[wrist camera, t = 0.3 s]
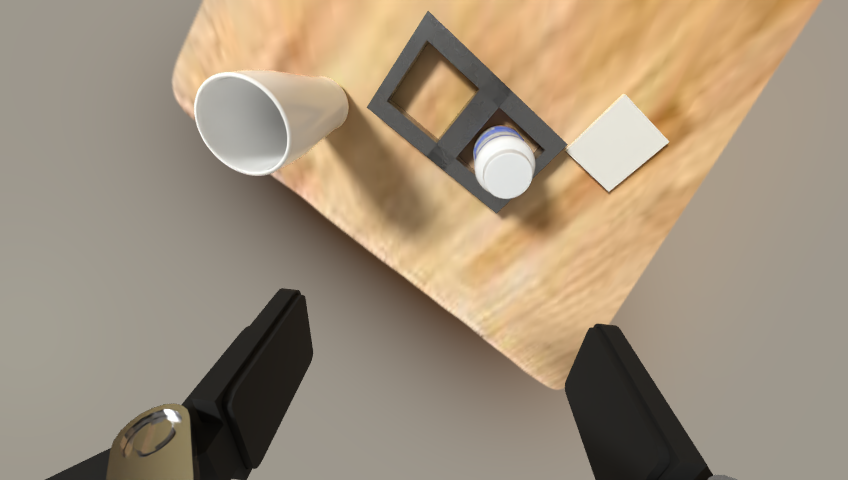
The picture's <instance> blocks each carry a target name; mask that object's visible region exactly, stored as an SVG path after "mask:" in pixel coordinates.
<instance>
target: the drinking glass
mask: <svg viewBox="0 0 848 480" xmlns="http://www.w3.org/2000/svg"><path fill="white" fill-rule="evenodd" d="M348 110H349V105H348V99H347V96H346V94H345V92H344V90H343V89H342V88H341V86H340V85H339V84H338V83H337V82H335V81H334V80H332V79H330V78H328V77H324V76H307V75H300V74H293V73H286V72H280V71H272V70H240V71H231V72H222V73H218V74H215V75H213V76H211V77H209V78H208V79H207V80H206V81H205V82H204V83H203V84H202V85H201V86H200V88H199V90H198V92H197V95H196V98H195V104H194V113H195V120H196V124H197V127H198V130H199V132H200V135H201V137H202V139H203V140H204V142H205V144H206V145H207V146H208V148H209V149H210V150H211V152H212V153H213V154H214V155H215V156H216V157H217V158H218V159H219V160H220V161H222V162H223V163H224V164H226V165H227V166H229V167H230V168H232V169H234V170H236V171H238V172H240V173H244V174H248V175H253V176H263V175H268V174H271V173H273V172H275V171H277V170H280V169H282V168H284V167H286V166H288V165H290V164H291V163H293V162H295V161H297V160H298V159H300V158H301V157H303V156H304V155H305V154H307V153H308V152H309V151H310V150H311V149H313V148H314V147H315V146H316V145H317V144H318V143H319V142H321V141H322V140H323V139H324V138H325V137H326V136H328V135H329V134H330V133H331V132H332V131H333V130H335V129H337V128H339V127H340V126H341V125H342V124H343V123H344V122H345V120H346V118H347V115H348Z"/></svg>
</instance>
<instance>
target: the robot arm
mask: <svg viewBox="0 0 848 480" xmlns="http://www.w3.org/2000/svg"><path fill="white" fill-rule="evenodd" d="M312 357H313V348H312V341H311V334H310V327H309V320H308V313H307V306H306V299H305V296H304V295H301V293H300V291H299V290H291V289H283V288H282V289H280V290H279V291H278V292H277V293H276V294H275V295H274V297H273V298H272V299H271V300H270V301H269V303H268V304H267V305H266V306H265V308H264V309H263V310H262V311H261V313H260V314H259V315H258V316H257V318H256V319H255V320H254V321H253V323H252V324H251V325H250V326H248V327H246V328H245V329H244V330H243V331H242V332H241V333H240V334H239V335H238V337H237V338H236V339H235V340H234V342H233V343H232V344H231V345H230V346H229V348H228V349H227V350H226V351H225V352H224V354H223V355H222V356H221V357H220V359H219V360H218V361H217V362H216V363H215V365H214V366H213V367H212V368H211V369H210V371H209V372H208V373H207V374H206V376H205V377H204V378H203V379H202V380H201V382H200V383H199V384H198V385H197V387H196V388H195V389H194V390H193V391H192V393H191V394H190V395H189V396H188V397H187V399H186V400H185V401H184V402H183V404H182V405H179V404H163V405H160V406H157V407H154V408H151V409H149V410H147V411H145V412H143V413H141V414H140V415H138V416H137V417H136V418H134V419H133V420H131V421H130V422H129V423H128V424H127V425H126V426H125V427H124V428H123V429H122V430H121V431H120V432H119V434H118V436H117V437H116V438H115V439H114V441H113V444H112V447H111V448H110V449H108V450H106V451H104V452H101V453H99V454H97V455H95V456H93V457H91V458H89V459H87V460H85V461H83V462H81V463H79V464H77V465H75V466H73V467H70V468H68V469H66V470H64V471H62V472H60V473H58V474H56V475H54V476H52V477H50V478H48V479H46V480H231V479H238V480H247V478H248V476H249V474H250V472H251V470H252V468H253V469H255V468H257V467H258V466H259V465H260V463H261V462H262V460H263V458H264V456H265V454H266V451H267V450H268V447H269V445H270V444H271V441H272V440H273V437H274V435H275V434H276V432H277V429H278V427H279V425H280V423H281V421H282V419H283V417H284V415H285V413H286V411H287V409H288V407H289V405H290V403H291V401H292V399H293V397H294V395H295V393H296V391H297V389H298V387H299V385H300V383H301V381H302V379H303V377H304V375H305V373H306V371H307V369H308V367H309V365H310V363H311V361H312ZM565 392H566V395H567V398H568V401H569V404H570V407H571V410H572V413H573V416H574V418H575V421H576V424H577V427H578V430H579V433H580V436H581V439H582V442H583V444H584V448H585V450H586V453H587V456H588V459H589V462H590V465H591V467H592V471H593V474H594V476H595V479H596V480H737V479H735V478H732V477H728V476H725V475H714V476H713V474H712V473H711V471H710V470H709V468H708V466H707V464H706V463H705V461H704V459H703V458H702V456H701V455H700V453H699V452H698V450H697V449H696V447H695V446H694V444H693V442H692V441H691V439H690V438H689V436H688V434H687V433H686V431H685V430H684V428H683V427H682V425H681V423H680V422H679V420H678V419H677V417H676V416H675V414H674V413H673V411H672V409H671V408H670V406H669V405H668V403H667V402H666V400H665V399H664V397H663V395H662V394H661V392H660V391H659V389H658V388H657V386H656V384H655V383H654V381H653V380H652V378H651V377H650V375H649V374H648V372H647V371H646V369H645V367H644V366H643V364H642V363H641V361H640V359H639V358H638V356H637V355H636V353H635V352H634V350H633V349H632V347H631V345H630V344H629V343H628V341H627V339H626V338H625V336H624V335H623V333H622V331H621V330H620V329H619V327H617V326H614V325H606V324H596V325H594V327H593V328H589V329H588V331H587V333H586V336H585V338H584V340H583V343H582V345H581V347H580V350H579V352H578V354H577V357H576V359H575V361H574V364H573V366H572V368H571V370H570V373H569V375H568V377H567V380H566V383H565Z"/></svg>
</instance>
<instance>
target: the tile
mask: <svg viewBox="0 0 848 480" xmlns="http://www.w3.org/2000/svg"><path fill="white" fill-rule="evenodd" d="M667 143H669V141H668V140H667V139H666V138H665V137H664V136H663V135H662V133H661V132H660V131H659V130H658V129H657V128H656V127H655V126H654V125H653V124H652V123H651V122H650V120H649V119H648V118H647V117H646V116H645V115H644V114H643V113H642V112H641V111H640V110H639V109H638V108H637V106H636V105H635V104H634V103H633V102H632V101H631V100H630V99H629V98H628V97H627V96H626V95H625V94H622V95H621V96H620V97H619V98H618V99H617V100H616V101H615V102H614V103H613V104H612V105H611V106H610V107H609V108H608V109H607V110H606V111H605V112H604V113H603V114H601V115H600V116H599V117H598V118H597V119H596V120H595V121H594V122H593V123H592V124H591V125H590V126H589V127H588V128H587V129H586V130H585V131H584V132H583V133H582V134H581V135H580V136H579V137H578V138H577V139H576V140H575V141H573V142H572V143H571V144H570V145H569V146H568V147H567V148H566V149H565V151H566V152H567V153H568V154H569V155H570V156H571V157H572V158H573V159H575V160H576V161H577V162H578V163H579V164H580V165H581V166H582V167H583V168H584V169H585V170H586V171H587V172H588V173H589V174H590V175H591V176H592V177H593V178H595V179H596V180H597V181H598V182H599V183H600V184H601V185H602V186H603V187H604V188H605V189H606V190H607V191H608V192H609V191H611V190H612V189H613V188H614V187H615V186H617V185H618V184H619V183H620V182H621V181H623V180H624V179H625V178H626V177H627V176H629V175H630V174H631V173H632V172H634V171H635V170H636V169H637V168H638V167H640V166H641V165H642V164H643V163H644V162H646V161H647V160H648V159H649V158H650V157H652V156H653V155H654V154H655V153H656V152H658V151H659V150H660V149H661V148H663V147H664V146H665V145H666V144H667Z"/></svg>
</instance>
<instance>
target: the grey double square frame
mask: <svg viewBox="0 0 848 480" xmlns="http://www.w3.org/2000/svg"><path fill="white" fill-rule="evenodd" d="M428 42H429V43H431V44H432V45H433V46H434V47H435V48H436V49H437V50H438V51H439V52H440V53H441V54H442V55H443V56H445V57H446V58H447V59H448V60H449V61H450V62H451V63H452V64H453V65H454V66H455V67H456V68H457V69H459V70H460V71H461V72H462V73H463V74H464V75H465V76H466V77H467V78H468V79H469V80H470V81H471V82H473V83H474V84H475V85H476V86H477V87H478V88H479V89H478V90H477V91H476V92H475V94H474V95H473V96H472V97H471V99H470V100H469V101H468V102H467V104H466V105H465V106H464V107H463V109H462V110H461V111H460V112H459V114H458V115H457V116H456V118H455V119H454V120H453V121H452V123H451V124H450V125H449V126H448V128H447V129H446V130H445V131H444V133H443V134H442V135H441V136H440V138H439V139H437V138H436V137H435V136H434V135H432V134H431V133H430V132H429V131H428V130H426V129H425V128H424V127H423V126H422V125H420V124H419V123H418V122H417V121H416V120H415V119H413V118H412V117H411V116H410V115H409V114H407V113H406V112H405V111H404V110H403V109H402V108H400V107H399V106H398V105H397V104H396V103H394V102H393V101H392V100H391V97H392V96H393V94H394V93H395V91H396V90H397V88H398V87H399V85H400V84H401V82H402V81H403V79H404V78H405V76H406V75H407V73H408V72H409V70H410V69H411V67H412V66H413V64H414V63H415V61H416V60H417V58H418V57H419V55H420V54H421V52H422V51H423V49H424V48H425V46H426V45H427V43H428ZM367 108H368V109H369V110H371V111H372V112H373V113H374V114H375V115H377V116H378V117H379V118H380V119H382V120H383V121H384V122H385V123H386V124H388V125H389V126H390V127H391V128H393V129H394V130H395V131H396V132H397V133H399V134H400V135H401V136H402V137H404V138H405V139H406V140H407V141H408V142H410V143H411V144H412V145H413V146H415V147H416V148H417V149H418V150H419V151H421V152H422V153H423V154H424V155H426V156H427V157H428V158H429V159H431V160H432V161H433V162H434V163H435V164H437V165H438V166H439V167H440V168H442V169H443V170H444V171H445V172H446V173H448V174H449V175H450V176H451V177H453V178H454V179H455V180H456V181H457V182H459V183H460V184H461V185H462V186H464V187H465V188H466V189H467V190H468V191H470V192H471V193H472V194H473V195H475V196H476V197H477V198H478V199H479V200H481V201H482V202H483V203H484V204H486V205H487V206H488V207H489V208H490V209H492V210H493V211H494V212H495V213H497V212H498V211H499V210H500V209H502V208H503V207H504V206H505V205H506V204H507V203H508V202H509V201H510V200H511V199H512V198H510V199H502V198H498V197H496V196H494V195H492V194H491V193H490V192H488V191H486V190H485V189H484V188H483V187H482V186H481V185H480V184H479V182H478V181H477V178H476V175H475V170H474V169H473V168H471V167H470V166H469V165H468V164H467V163H466V162H464V161H463V160H462V159H461V158H460V157H458V155H459V153H460V152H461V151H462V150H463V149H464V148H465V146H466V145H467V144H468V143H469V142H470V141H471V139H472V138H473V137H474V136H475V135H476V134H477V132H478V131H479V130H480V129H481V128H482V127H483V125H484V124H485V123H486V122H487V121H488V119H489V118H490V117H491V116H492V115H493V114H494V112H495V111H496V110H497V109H498V108H501V109H502V110H503V111H504V112H505V113H506V114H507V115H508V116H509V117H510V118H511V119H512V120H513V121H514V122H516V123H517V124H518V125H519V126H520V127H521V128H522V129H523V130H524V131H525V132H526V133H527V134H528V135H530V136H531V137H532V138H533V139H534V140H535V141H536V142H537V143H538V144H539V145H540V147H539V148H538V149H537V150H536V151H535V152H534V153H533V154H534V157H535V171H534V174H533V177H532V179H533V178H534V177H535V176H536V175H537V174H538V173H539V172H540V171H541V170H542V169H543V168H544V167H545V166H546V165H547V164H548V163H549V162H550V161H551V160H552V159H553V158H554V157H555V156H556V155H557V154H558V153H559V152H560V151H561V150H562V149H564V148H565V147H566V146H567V145H568V144H567V143H565V142H564V141H563V140H562V139H561V138H560V137H559V136H558V135H557V134H556V133H555V132H554V131H553V130H552V129H551V128H550V127H549V126H548V125H547V124H546V123H545V122H544V121H543V120H541V119H540V118H539V117H538V116H537V115H536V114H535V113H534V112H533V111H532V110H531V109H530V108H529V107H528V106H527V105H526V104H525V103H524V102H523V101H522V100H521V99H520V98H518V97H517V96H516V95H515V94H514V93H513V92H512V91H511V90H510V89H509V88H508V87H507V86H506V85H505V84H504V83H503V82H502V81H501V80H500V79H499V78H498V77H497V76H496V75H494V74H493V73H492V72H491V71H490V70H489V69H488V68H487V67H486V66H485V65H484V64H483V63H482V62H481V61H480V60H479V59H478V58H477V57H476V56H475V55H474V54H473V53H472V52H470V51H469V50H468V49H467V48H466V47H465V46H464V45H463V44H462V43H461V42H460V41H459V40H458V39H457V38H456V37H455V36H454V35H453V34H452V33H451V32H450V31H449V30H448V29H446V28H445V27H444V26H443V25H442V24H441V23H440V22H439V21H438V20H437V19H436V18H435V17H434V16H433V15H432V14H431V13H430V12H429V11H427V13H426V15H425V16H424V18H423V19H422V21H421V23H420V24H419V26H418V27H417V29H416V30H415V32H414V34H413V35H412V37H411V38H410V40H409V42H408V43H407V45H406V46H405V48H404V49H403V51H402V53H401V54H400V56H399V57H398V59H397V60H396V62H395V64H394V65H393V67H392V68H391V70H390V72H389V73H388V75H387V76H386V78H385V79H384V81H383V83H382V84H381V86H380V87H379V89H378V91H377V92H376V94H375V95H374V97H373V98H372V100H371V102H370V103H369V105H368V106H367Z"/></svg>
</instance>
